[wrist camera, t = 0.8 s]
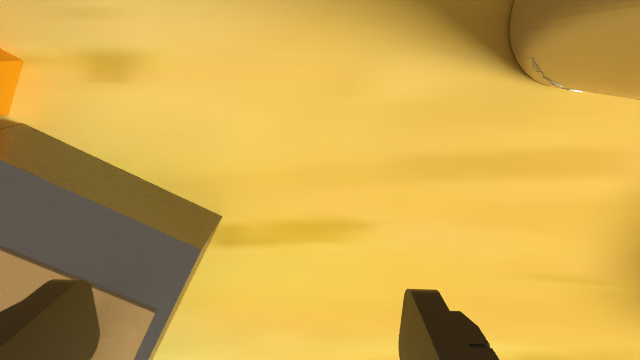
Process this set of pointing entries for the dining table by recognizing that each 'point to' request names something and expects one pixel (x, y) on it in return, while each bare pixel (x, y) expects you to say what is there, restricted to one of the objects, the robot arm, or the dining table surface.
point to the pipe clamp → (8, 79)
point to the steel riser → (96, 238)
